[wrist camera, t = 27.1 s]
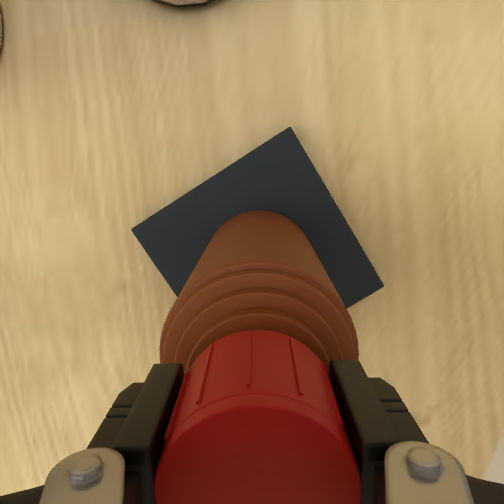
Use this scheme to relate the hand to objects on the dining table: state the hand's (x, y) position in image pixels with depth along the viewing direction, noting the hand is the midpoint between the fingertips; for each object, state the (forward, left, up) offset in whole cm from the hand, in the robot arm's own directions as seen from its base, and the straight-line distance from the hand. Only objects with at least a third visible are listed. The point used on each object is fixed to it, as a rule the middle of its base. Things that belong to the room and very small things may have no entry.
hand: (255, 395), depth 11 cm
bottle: (0, 0, -14) cm, 14 cm away
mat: (-1, 0, -15) cm, 15 cm away
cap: (0, 0, 0) cm, 0 cm away
